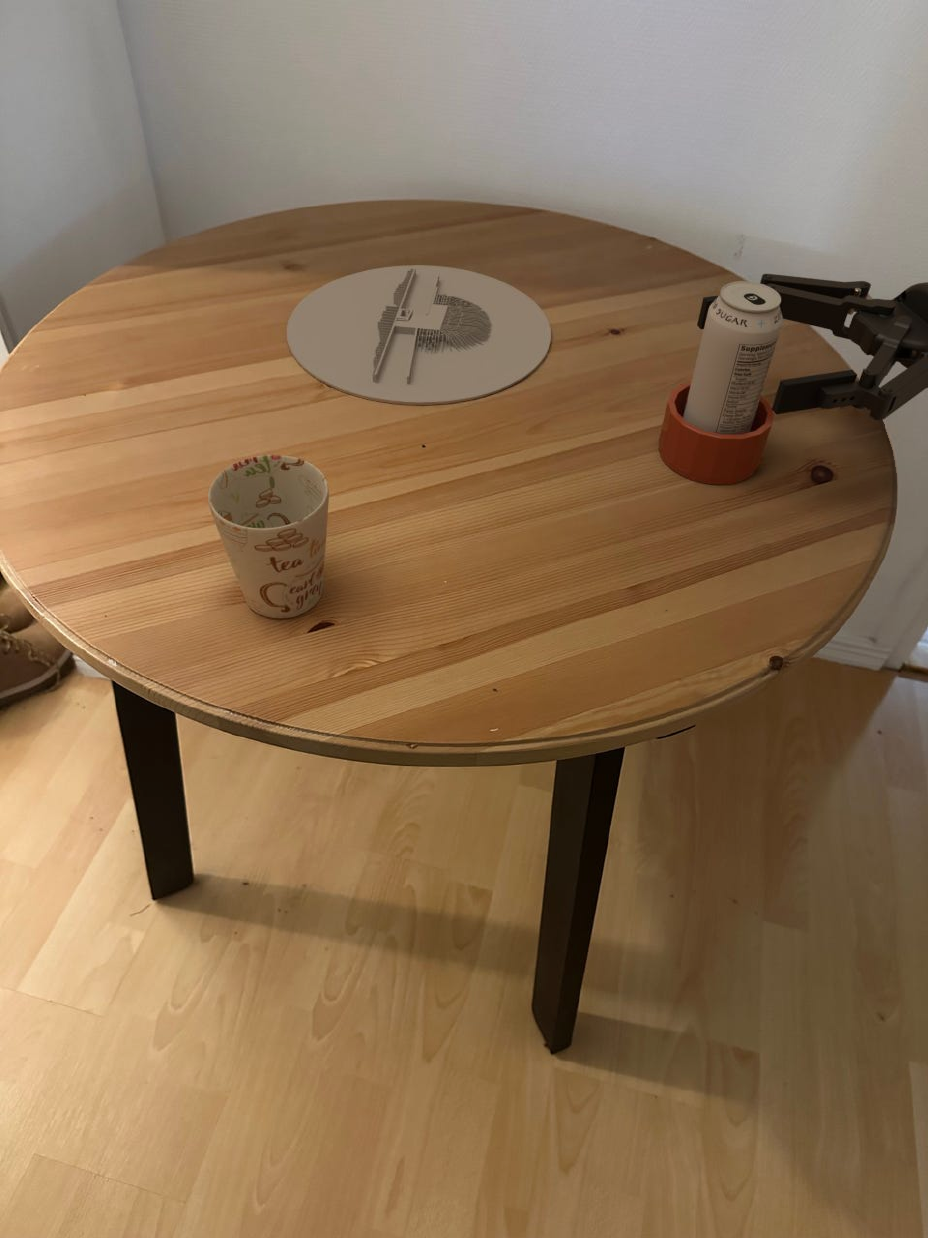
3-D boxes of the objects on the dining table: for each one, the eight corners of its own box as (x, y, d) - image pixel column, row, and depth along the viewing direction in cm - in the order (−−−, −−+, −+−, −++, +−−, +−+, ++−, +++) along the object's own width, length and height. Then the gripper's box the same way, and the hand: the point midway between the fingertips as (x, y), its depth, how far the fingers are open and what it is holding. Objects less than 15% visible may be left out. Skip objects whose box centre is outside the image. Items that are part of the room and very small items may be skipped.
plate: (325, 256, 112) (324, 246, 111) (561, 281, 110) (563, 271, 109) (251, 386, 93) (250, 376, 92) (536, 420, 91) (537, 409, 90)
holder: (778, 454, 88) (793, 408, 84) (723, 498, 83) (737, 452, 80) (695, 412, 92) (706, 367, 89) (638, 452, 88) (648, 406, 84)
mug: (233, 638, 70) (211, 536, 63) (222, 528, 79) (201, 427, 71) (345, 621, 72) (336, 520, 65) (322, 515, 80) (312, 415, 73)
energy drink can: (713, 422, 90) (753, 271, 79) (757, 456, 87) (804, 303, 76) (663, 439, 88) (697, 287, 77) (706, 475, 85) (748, 320, 74)
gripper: (1025, 438, 80) (801, 477, 75) (859, 295, 96) (667, 320, 91) (1069, 358, 74) (831, 396, 69) (885, 221, 90) (682, 244, 86)
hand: (737, 353), depth 80 cm, fingers open, 13 cm apart
